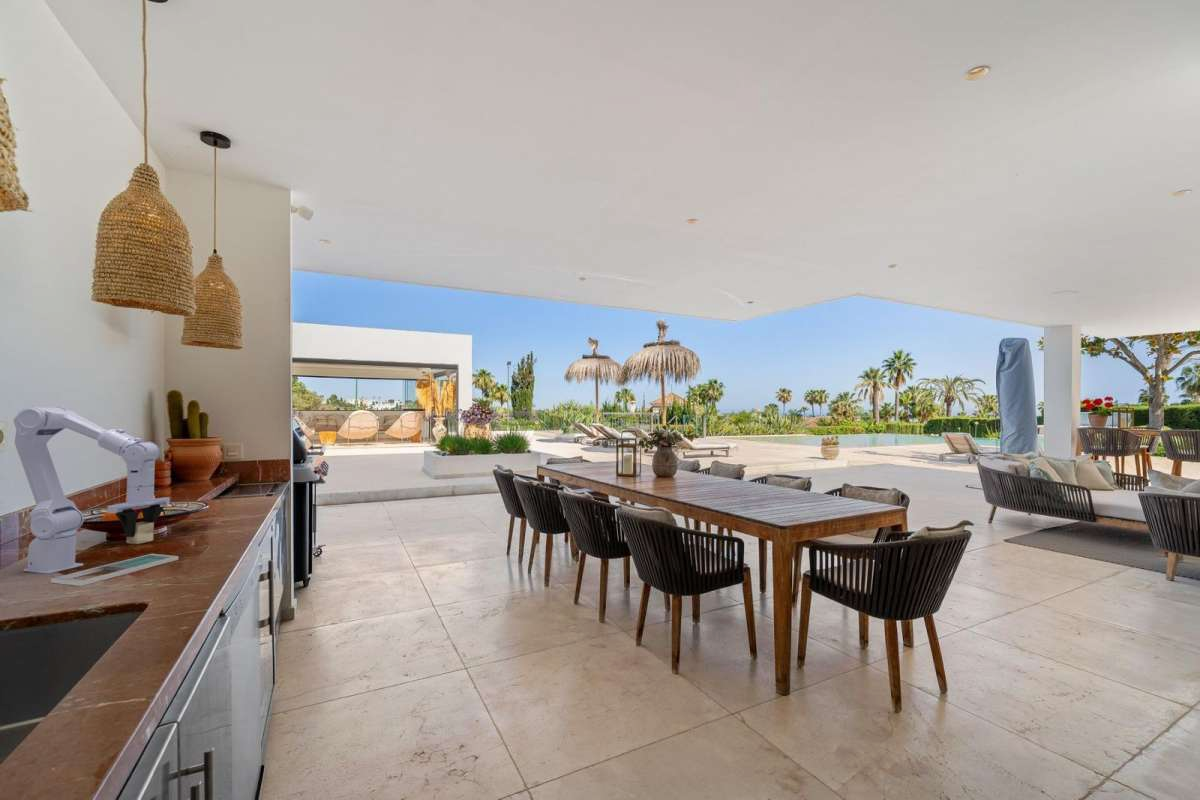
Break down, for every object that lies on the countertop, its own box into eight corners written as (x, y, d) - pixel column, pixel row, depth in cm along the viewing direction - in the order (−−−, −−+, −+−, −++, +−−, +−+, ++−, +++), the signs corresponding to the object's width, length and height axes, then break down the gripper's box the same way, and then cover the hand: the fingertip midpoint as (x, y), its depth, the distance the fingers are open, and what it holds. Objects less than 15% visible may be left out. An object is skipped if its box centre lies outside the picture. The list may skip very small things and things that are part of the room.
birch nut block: (126, 542, 144) (127, 524, 144) (142, 539, 148) (142, 521, 148) (137, 543, 143) (138, 525, 143) (153, 540, 147) (153, 522, 147)
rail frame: (50, 582, 130) (50, 578, 130) (151, 557, 153) (151, 553, 153) (80, 586, 128) (80, 581, 128) (178, 559, 151) (178, 556, 151)
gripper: (122, 490, 138) (120, 542, 137) (178, 483, 152) (177, 530, 152) (102, 489, 139) (100, 540, 139) (159, 482, 153) (158, 528, 153)
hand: (139, 534), depth 145 cm, fingers closed on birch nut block, 4 cm apart
